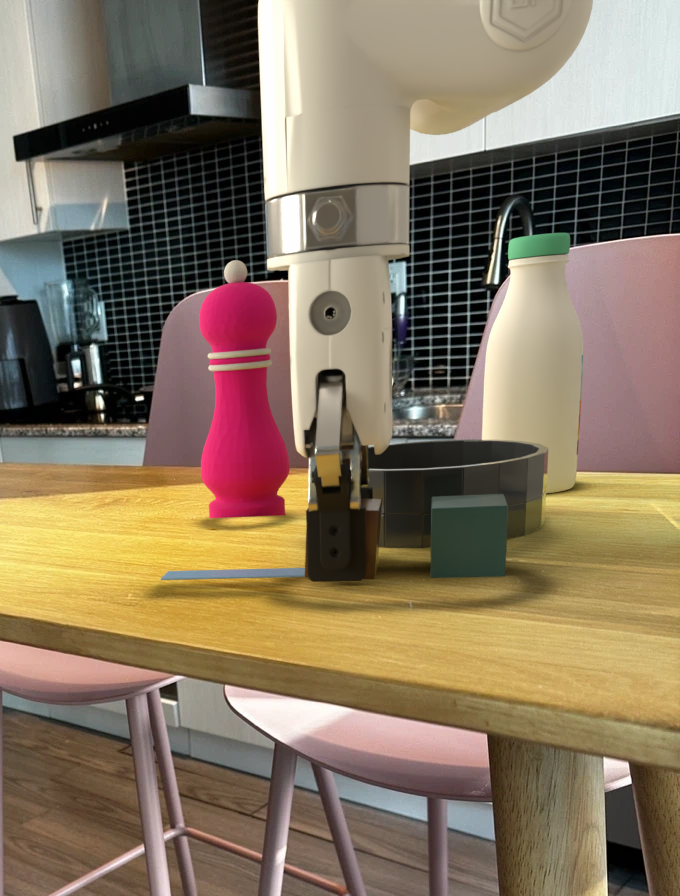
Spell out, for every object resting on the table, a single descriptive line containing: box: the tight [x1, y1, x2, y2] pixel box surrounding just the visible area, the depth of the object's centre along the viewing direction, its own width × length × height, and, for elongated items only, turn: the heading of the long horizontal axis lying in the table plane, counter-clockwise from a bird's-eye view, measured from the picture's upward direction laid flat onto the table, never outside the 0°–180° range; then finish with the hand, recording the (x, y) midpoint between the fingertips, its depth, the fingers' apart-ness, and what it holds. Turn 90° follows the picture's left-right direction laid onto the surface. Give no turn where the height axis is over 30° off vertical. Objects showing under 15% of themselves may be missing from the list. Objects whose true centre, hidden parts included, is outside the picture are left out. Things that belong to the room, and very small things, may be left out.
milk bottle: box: [481, 232, 584, 494], centre depth 85 cm, size 8×8×20 cm
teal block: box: [429, 494, 508, 579], centre depth 59 cm, size 4×4×4 cm
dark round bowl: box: [361, 438, 549, 549], centre depth 72 cm, size 15×15×6 cm
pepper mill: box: [198, 259, 291, 519], centre depth 82 cm, size 7×7×20 cm
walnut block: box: [303, 498, 382, 580], centre depth 60 cm, size 4×4×4 cm
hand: (342, 563), depth 61 cm, fingers open, 6 cm apart
